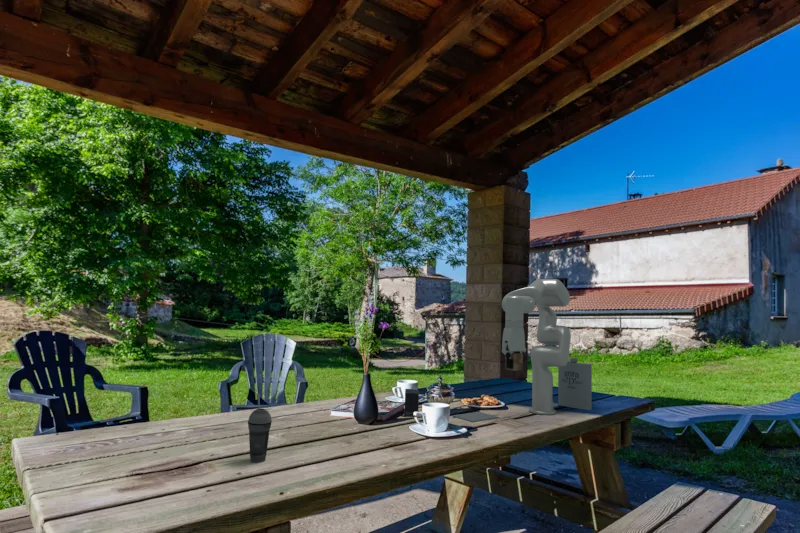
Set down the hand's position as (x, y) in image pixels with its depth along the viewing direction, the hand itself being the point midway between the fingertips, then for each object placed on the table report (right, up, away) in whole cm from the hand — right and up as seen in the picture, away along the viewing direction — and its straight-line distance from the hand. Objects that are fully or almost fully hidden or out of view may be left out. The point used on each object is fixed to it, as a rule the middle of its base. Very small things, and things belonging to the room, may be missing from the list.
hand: (514, 367), depth 206 cm
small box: (-43, -25, +15) cm, 52 cm away
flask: (+41, -29, +42) cm, 66 cm away
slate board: (-15, -24, +7) cm, 30 cm away
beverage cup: (-92, -17, -56) cm, 109 cm away
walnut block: (0, -1, 0) cm, 1 cm away
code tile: (-1, -24, -2) cm, 24 cm away
